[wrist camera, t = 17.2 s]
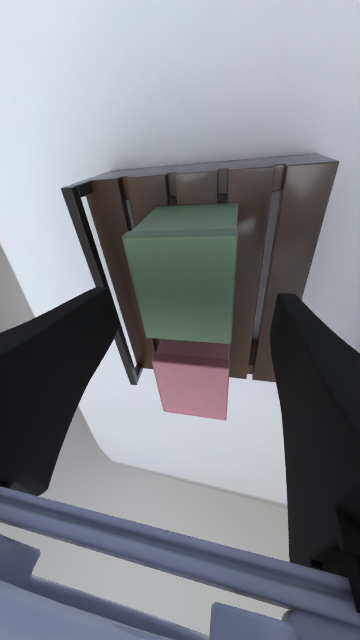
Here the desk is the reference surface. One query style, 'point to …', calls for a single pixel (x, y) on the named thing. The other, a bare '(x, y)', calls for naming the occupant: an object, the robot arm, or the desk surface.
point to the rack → (253, 210)
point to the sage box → (185, 271)
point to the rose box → (193, 377)
